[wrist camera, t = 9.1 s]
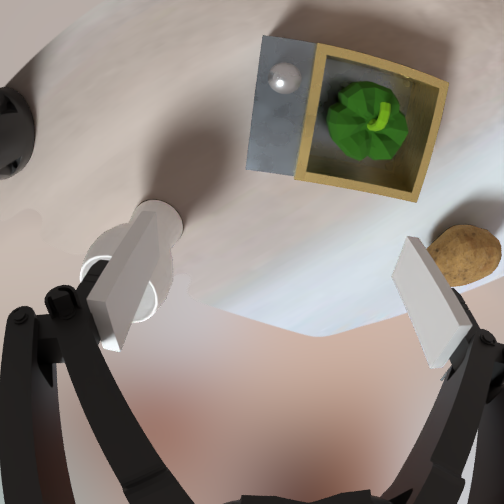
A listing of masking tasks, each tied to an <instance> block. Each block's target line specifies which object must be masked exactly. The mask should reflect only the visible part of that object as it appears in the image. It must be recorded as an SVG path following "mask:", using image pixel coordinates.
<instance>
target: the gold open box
mask: <svg viewBox="0 0 504 504" xmlns="http://www.w3.org/2000/svg"><path fill="white" fill-rule="evenodd" d="M360 81H370V82H374V83H376V84H379V85H381V86H384V87H386V88H389V89H391V90H392V92H393V93H394V95H395V96H396V98H397V99H398V101H399V104H400V107H399V110H400V111H401V112H402V113H403V114H404V115H405V118H406V122H407V126H408V131H409V132H408V134H407V136H406V138H405V140H404V141H403V143H402V145H401V147H400V148H399V149H398V151H397V152H396V154H395V155H394V156H393V158H392V159H390V160H373V159H371V158H370V157H368V156H367V157H365V158H364V159H363V160H360V161H358V160H355V159H353V158H351V157H349V156H346V155H345V153H344V152H343V151H342V150H341V149H340V148H339V147H338V146H337V144H336V143H335V142H334V141H333V140H332V139H331V137H330V135H329V130H328V125H327V120H326V118H327V113H328V109H329V107H330V106H331V105H333V104H335V103H337V102H338V92H340V91H341V90H342V89H344V88H345V87H347V86H348V85H349V84H351V83H352V82H360ZM448 86H449V83H448V82H446V81H444V80H441V79H439V78H436V77H434V76H431V75H428V74H426V73H423V72H420V71H418V70H415V69H412V68H409V67H406V66H403V65H400V64H397V63H394V62H391V61H388V60H385V59H381V58H378V57H374V56H371V55H367V54H364V53H360V52H356V51H352V50H348V49H344V48H340V47H335V46H331V45H326V44H321V43H311V42H305V41H300V40H294V39H287V38H280V37H273V36H265V35H263V37H262V44H261V52H260V59H259V67H258V74H257V82H256V90H255V97H254V105H253V113H252V121H251V129H250V137H249V145H248V154H247V162H246V170H254V171H262V172H269V173H276V174H283V175H289V176H294V180H301V181H307V182H313V183H319V184H325V185H331V186H336V187H342V188H347V189H353V190H358V191H363V192H368V193H373V194H378V195H383V196H388V197H392V198H397V199H402V200H406V201H411V202H415V203H417V200H418V197H419V194H420V191H421V188H422V185H423V182H424V179H425V175H426V172H427V169H428V166H429V162H430V159H431V155H432V152H433V148H434V145H435V141H436V137H437V133H438V130H439V126H440V122H441V117H442V113H443V109H444V105H445V100H446V95H447V91H448Z"/></svg>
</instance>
